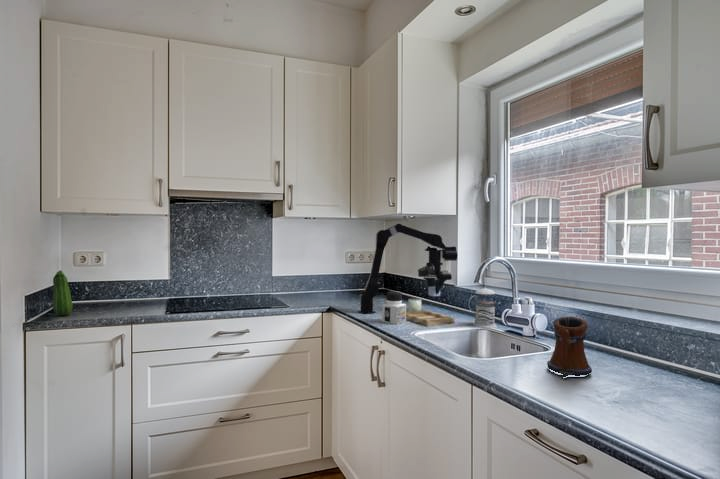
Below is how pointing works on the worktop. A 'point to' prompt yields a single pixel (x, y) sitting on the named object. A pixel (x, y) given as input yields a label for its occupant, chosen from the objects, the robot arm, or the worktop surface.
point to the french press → (485, 306)
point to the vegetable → (61, 295)
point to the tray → (428, 318)
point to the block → (432, 291)
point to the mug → (569, 347)
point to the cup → (414, 305)
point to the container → (394, 309)
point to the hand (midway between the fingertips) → (434, 293)
